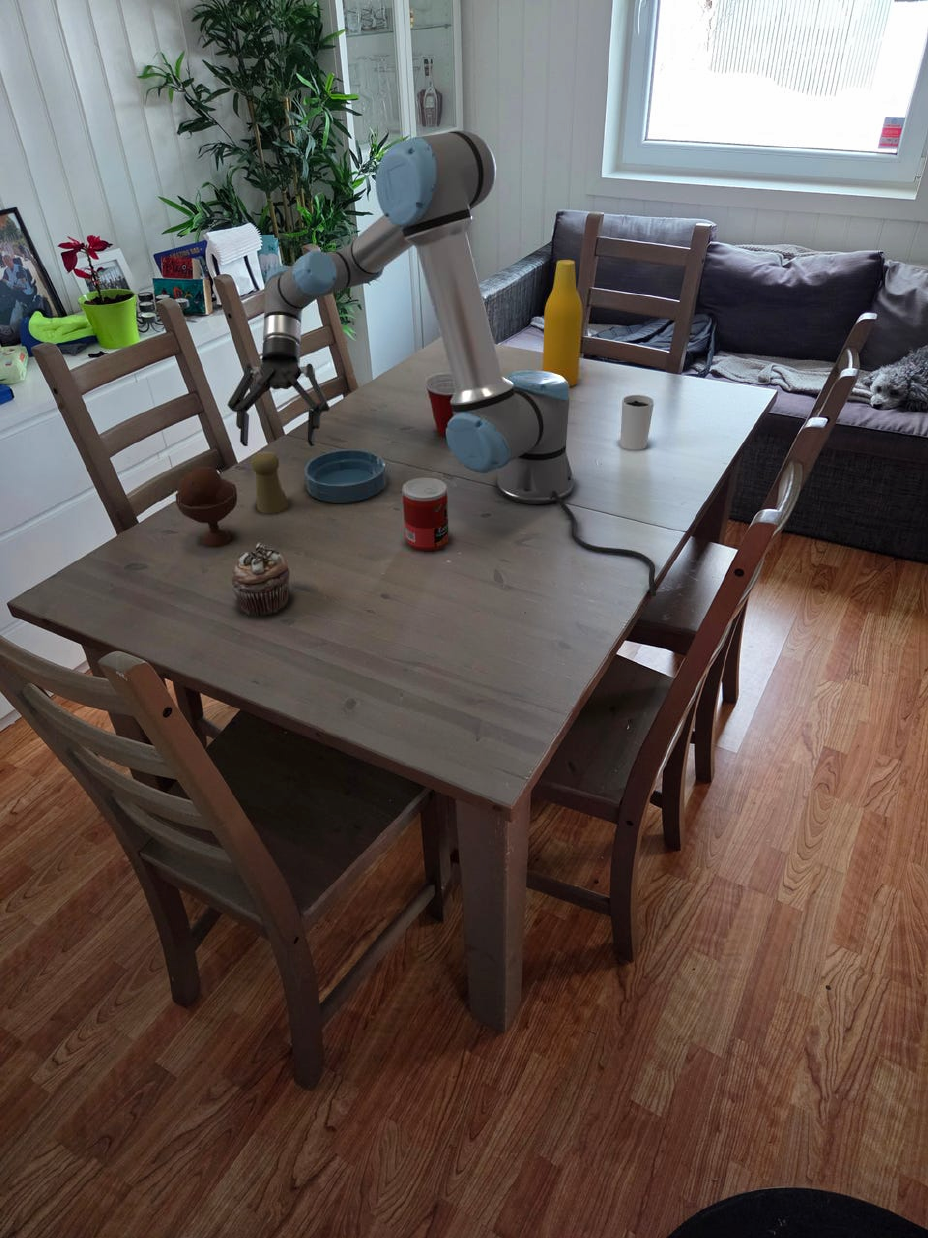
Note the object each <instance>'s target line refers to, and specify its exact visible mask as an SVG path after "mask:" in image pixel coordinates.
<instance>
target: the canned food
mask: <svg viewBox="0 0 928 1238" xmlns="http://www.w3.org/2000/svg"><path fill="white" fill-rule="evenodd" d="M447 486H448V485H447V484H446V483H445V482H444V481H442V480H440V479H438V478H433V477H418V478H413V479H410V480H408V481H407V482H405V483H404V484H403V485H402V506H403V519H404V531H405V540H406V543H407V544H408V545H409V546H410V547H411V548H413V549H415V550H418V551H421V552H422V551H423V552H430V551H436V550H440V549H442V548H444V547H445V546H446V545H447V544H448V540H449V538H450V537H449V536H450V535H449V503H448V501H449V500H448V499H449V498H448V487H447Z"/></svg>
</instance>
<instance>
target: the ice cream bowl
mask: <svg viewBox="0 0 928 1238" xmlns="http://www.w3.org/2000/svg"><path fill="white" fill-rule="evenodd" d="M174 496H175V504H176V506H177V509H178V510H179V511H180V512H181V513H182V515H184V516H185V517H187V518H189V519H191V520H193V521H195V522H198V523H201V524H207V525H208V529H209V530H208V531H206V532H205V533H204V534H203V535H202V536H201V544H202V545H204V546H206V547H221V546H223V545H226V544H227V543H228V542H230V541H231V540H232V534H231V532H230V531H229V530H227V529H224V528H220V526H219V522H221V521H222V520H224V519H225V518H226V517H227V516H229V514H231V513H232V511H233V510H234V509H235V508H236V505H237V501H238V492H237V487H236V484H234V483H231V481H229V480H228V479H225V478H222V476H221V474H220V473H219V471H218V470H217V469H216V468H214V467H210V466H205V465H204V466H198V467H196V468H195V469H194V470H193V471H190V472H187V473H186V474H184V475H183V476H182V477H181V478H180V480H179V481H178V484H177V492H176V493H175V495H174Z"/></svg>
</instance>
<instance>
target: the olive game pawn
mask: <svg viewBox="0 0 928 1238" xmlns="http://www.w3.org/2000/svg"><path fill="white" fill-rule="evenodd" d="M250 464H251V469H252V470H253V472H255V484H256V485H255V487H256V506H257V510H258V511H259V512H260V513H265V514H275V513H276V514H277V513H279V512H282V511H284V510H286V509H287V508H288V506H289V502H288V498H287V495H286V492H285V489H284V485H283V483H282V480H281V477H280V473H279V471H278V469H279V467H280V461H279V458H278V456H277V455H276V454H275V453H274V452H272V451H259V452H257V453H255V454H254V455H253V456H252V457H251V460H250Z"/></svg>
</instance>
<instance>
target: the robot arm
mask: <svg viewBox="0 0 928 1238" xmlns="http://www.w3.org/2000/svg"><path fill="white" fill-rule="evenodd" d="M375 175H376V177H375V192H376V198H377V202H378V205H379V208H380V210H381V212H382V214H383V215H381V216H380V217H379V218H378V219H377V220H375V222H373V223H372V224H371V225H370V226H368V227H367V228H366V229H365V230H363V232H361V233H360V234H359V235H358V236H356V238H355V239H353V240H352V241H351V242H350V243H349V244H347V245H346V246H344V247H342V248H339V249H334V250H332V251H331V250H330V251H328V252H323V251H320V250H316V249H315V250H309V251H308V252H307V253H305V254H304V255H301V256H300V257H299V258H298V259H297V260H296V261H295V262H294V263H293V264H292V265H290V266H289V265H277V266H273V267H271V268H269V270H268V271H267V273H266V277H265V283H264V306H263V307H264V308H263V309H264V312H263V329H262V331H263V332H262V341H263V342H262V352H261V363H260V366H254V365H253V366H252V364H251V363H247V364H246V365H245V368H244V374H243V376H242V377H241V379H240V381H239V383H238V385H237V386H236V388H235V390H234V391H233V393H232V395H231V396H230V398H229V400H228V402H227V407H228V408H229V409H230V411H231V412H235V413H236V418H235V420H236V422H235V426H236V427H237V428H238V429H239V430H240V433H239V442H240V444H241V445H242V446H244V447H248V446H249V429H250V428H249V426H250V414H249V413H248V411H249V410H250V409H251V408H252V407H253V406H254V405H255V404H256V403H257V401H258V400H259V399H260V398H261V397H262V396H263V395H264V394H265V393H267V392H268V391H269V390H270V389H271V388H272V389H273V390H279V389H283V390H289V389H290V388H293V389H294V390H295V391H296V392H297V394H298V395H299V396H300V397H301V398H302V399H303V400H304V401H305V403H306V404H307V405H308V406H309V408H310V409H308V416H307V417H308V418H307V439H306V440H307V443H308V444H309V446H310V447H314V446H315V437H316V436H315V432H316V430H319V429H320V427H321V414H322V413H325V412H329V411H330V410H331V407H330V406H329V403H328V401H327V399H326V397H325V395H324V393H323V391H322V389H321V387H320V385H319V383H318V381H317V379H316V369H315V368H314V365H313V364H312V363H309V362H308V363H307V364H306V366H305V365H304V366H300V364H301V363H300V362H301V346H300V345H301V338H302V337H301V336H302V316H303V315H302V314H303V309H305V308H306V307H308V306H309V305H311V304H312V303H313V302H315V301H316V300H317V299H318V300H319V298H322V297H327V296H329V295H332V294H335V293H339V292H341V291H345V290H347V289H350V288H354V287H357V286H360V285H364V284H365V285H366V284H370V283H371V282H372V281H375V280H377V279H379V278H380V277H382V275H383V272H384V269H385V268H386V267H387V266H388V265H390V264H391V263H392V262H393V261H395V260H396V259H397V258H399V257H400V256H401V255H403V254H404V253H405V252H407V251H408V250H409V249H410V248H412V247H414V248H415V249H416V252H417V255H418V258H419V259H418V260H419V262H420V266H421V269H422V273H423V277H424V280H425V284H426V287H427V291H428V295H429V298H430V302H431V306H432V309H433V312H434V316H435V320H436V324H437V327H438V331H439V335H440V338H441V341H442V344H443V345H442V346H443V349H444V353H445V356H446V359H447V364H448V367H449V371H450V373H451V375H452V378H453V382H454V386H455V389H456V390H455V393H454V395H453V397H452V399H451V401H450V403H451V406H452V410H453V414H454V416H453V417H452V418H451V419H450V421H449V422H448V427H447V428H446V436H445V438H446V442H447V445H448V447H449V449H450V451H451V453H452V455H453V456H454V457H455V459H456V460H457V461H458V462H459V463H460V464H462V465H464V467H465V468H467V469H468V470H470V471H472V472H475V473H479V474H487V473H491V472H494V471H496V470H497V469H499V471H498V474H497V479H496V480H497V481H496V482H497V490H498V492H499V493H500V494H501V495H502V496H503V497H505V498H507V499H508V500H511V501H514V502H517V503H521V504H526V505H546V504H552V503H556V502H557V503H558V505H559V506H560V507H561V508H562V510H563V511H564V512H565V514H566V515H567V516H568V517H569V519H570V522H571V535H572V539H573V540H574V542H575V543H577V545H579V547H582V548H584V549H586V550H589V551H591V552H597V553H603V554H611V555H622V556H629V557H633V558H636V559H639V560H640V561H642V562H644V563H645V564H646V565H647V566H648V567H649V571H648V589H649V595H650V596H651V597H656V596H657V592H656V584H655V576H656V564H655V563H654V562H653V561H652V559H650V558H649V557H648V556H646V555H645V554H643V553H641V552H638V551H635V550H632V549H626V548H618V547H617V548H616V547H615V548H614V547H606V546H597V545H594V544H590V543H588V542H586V541H583V539H581V538H580V537H579V534H578V521H577V518H576V516H575V515H574V513H573V511H572V510H571V509H570V507H568V506H567V503H565V502H564V501H563V499H566V498H567V497H568V496H569V495H571V493H573V489H574V475H573V472H572V468H571V464H570V461H569V457H568V454H567V442H568V441H567V440H568V424H569V423H568V422H569V407H570V401H571V398H570V387H569V384H568V382H567V381H566V380H565V379H564V378H563V377H561V376H559V375H557V374H554V373H550V372H544V371H542V370H534V369H533V370H532V369H530V370H529V369H527V370H517V371H514V372H512V373H510V374H509V375H508V377H507V378H505V377H504V376H503V373H502V368H501V365H500V362H499V357H498V352H497V350H496V344H495V342H494V337H493V333H492V329H491V326H490V321H489V317H488V313H487V310H486V306H485V302H484V298H483V294H482V289H481V286H480V282H479V278H478V274H477V270H476V266H475V261H474V258H473V255H472V250H471V245H470V242H469V238H468V229H469V227H470V226H471V223H472V221H473V216H472V212H471V210H473V209H474V208H475V207H477V206H478V205H480V204H481V203H483V202H484V201H485V200H486V199H487V198H488V196H489V195H490V193H492V190H493V188H494V185H495V181H496V177H497V166H496V159H495V156H494V153H493V152H492V150H491V148H490V146H489V145H488V144H487V143H486V141H485V140H484V139H482V138H481V137H480V136H478V135H477V134H475V133H473V132H471V131H466V130H453V131H448V132H443V133H436V134H429V135H421V136H414V137H412V138H408V139H406V140H403V141H399V142H396V143H393V144H392V145H391V146H390V147H388V149H387V150H386V151H384V153H383V155H382V157H381V158H380V161H379V166H378V168H377V169H376V174H375ZM259 374H260V376H261V377H260V378H259V379H258V381H257V383H256V384H255V386H254V387H252V388H251V386H252V384H253V382H254V380H255V379H256V378H257V377H258V375H259ZM302 374H303V375H304V377H305V378H307V379H309V382H310V385H311V386H312V388H313V391H314V393H315V395H316V397H317V398H318V401H319V403H316V401H315V400H314V399H313V397H312V396H310V394H309V393H308V392H307V391H306V390H305V388H304V387H303V386H302V385H301V383H300V382H299V381H298V379H299V378H300V377H301V375H302ZM250 388H251V390H250V391H249V389H250Z"/></svg>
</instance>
